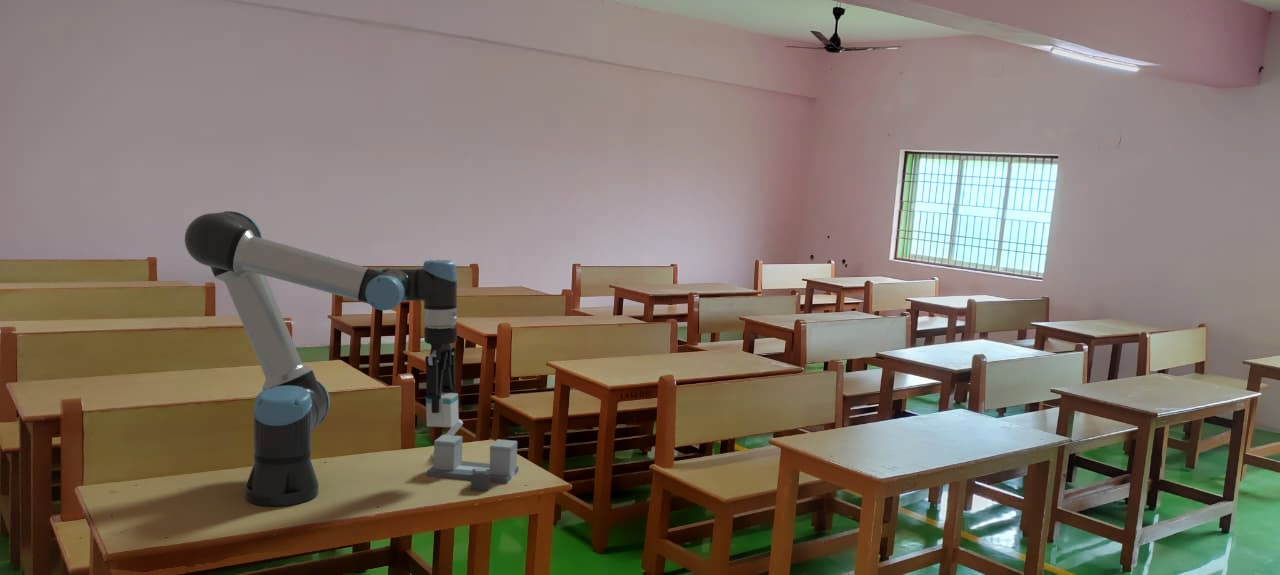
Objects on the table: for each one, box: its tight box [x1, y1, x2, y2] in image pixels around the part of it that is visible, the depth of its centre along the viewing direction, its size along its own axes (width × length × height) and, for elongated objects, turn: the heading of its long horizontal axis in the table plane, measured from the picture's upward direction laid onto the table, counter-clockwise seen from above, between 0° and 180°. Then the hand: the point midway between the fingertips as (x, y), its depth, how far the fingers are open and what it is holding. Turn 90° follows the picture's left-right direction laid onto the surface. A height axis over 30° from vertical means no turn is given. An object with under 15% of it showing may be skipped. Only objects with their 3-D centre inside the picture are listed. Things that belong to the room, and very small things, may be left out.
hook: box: [431, 418, 464, 459], centre depth 240 cm, size 8×12×7 cm
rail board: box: [426, 434, 519, 484], centre depth 227 cm, size 20×10×8 cm, turn 82°
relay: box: [470, 468, 490, 492], centre depth 217 cm, size 4×4×5 cm
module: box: [425, 392, 460, 428], centre depth 220 cm, size 6×5×7 cm
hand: (441, 422), depth 221 cm, fingers closed on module, 5 cm apart
